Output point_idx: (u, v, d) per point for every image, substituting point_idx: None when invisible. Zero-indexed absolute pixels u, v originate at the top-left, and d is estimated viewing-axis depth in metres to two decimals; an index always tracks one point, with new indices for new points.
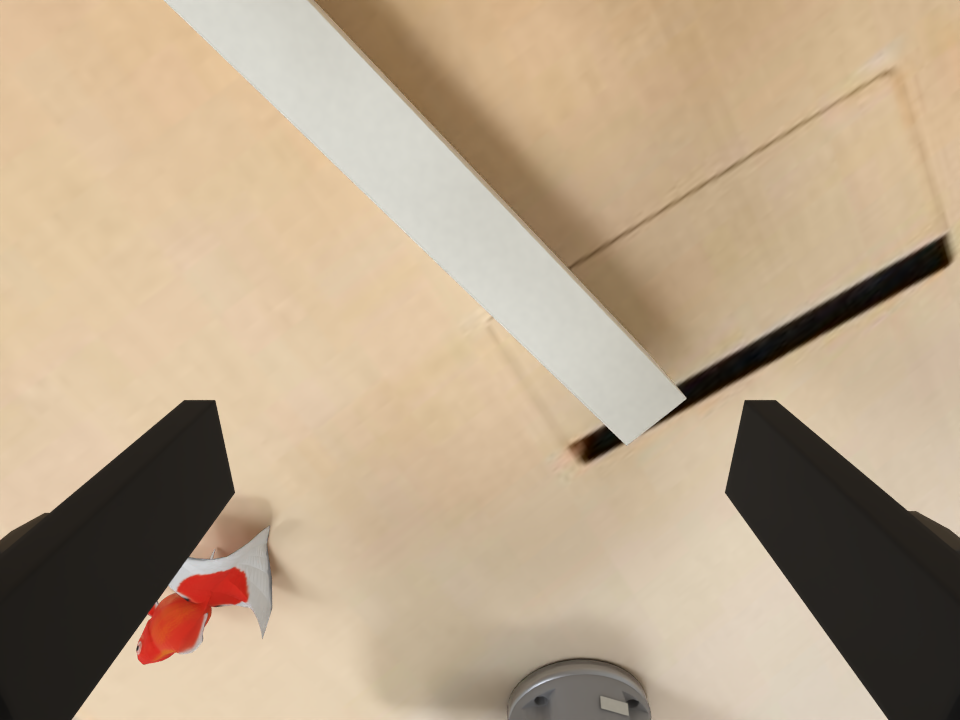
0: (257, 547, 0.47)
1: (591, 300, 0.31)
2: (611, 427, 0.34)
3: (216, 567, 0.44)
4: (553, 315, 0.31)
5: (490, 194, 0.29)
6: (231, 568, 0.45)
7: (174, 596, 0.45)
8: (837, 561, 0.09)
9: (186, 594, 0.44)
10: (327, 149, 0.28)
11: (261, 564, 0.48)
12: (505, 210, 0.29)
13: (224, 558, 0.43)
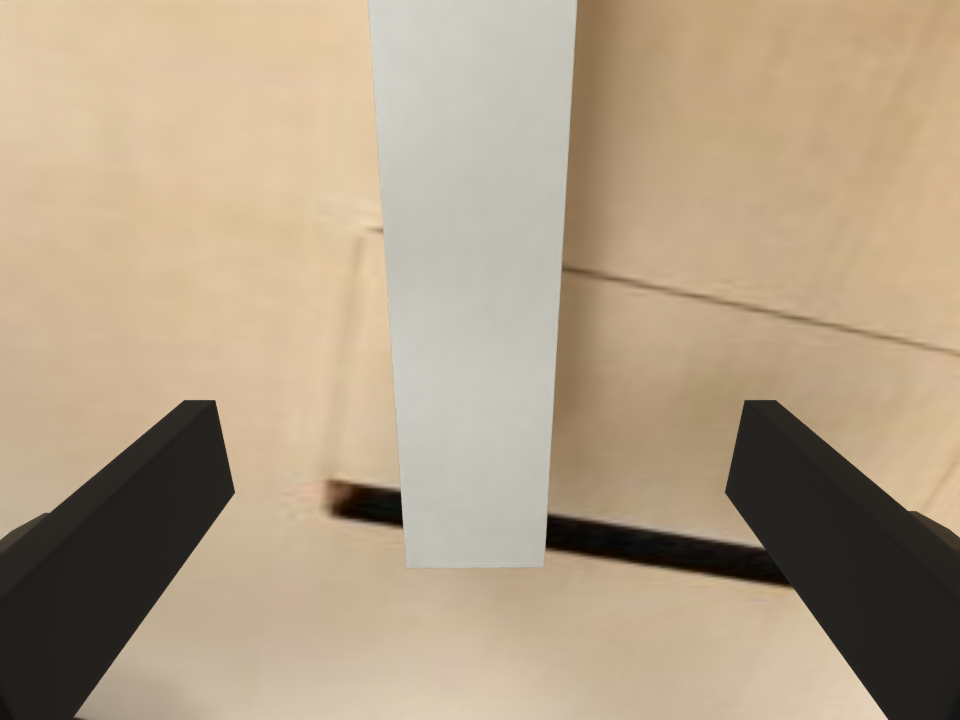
0: None
1: (555, 319, 0.15)
2: (407, 527, 0.18)
3: None
4: (481, 289, 0.15)
5: None
6: None
7: None
8: (837, 561, 0.09)
9: None
10: None
11: None
12: (572, 26, 0.12)
13: None
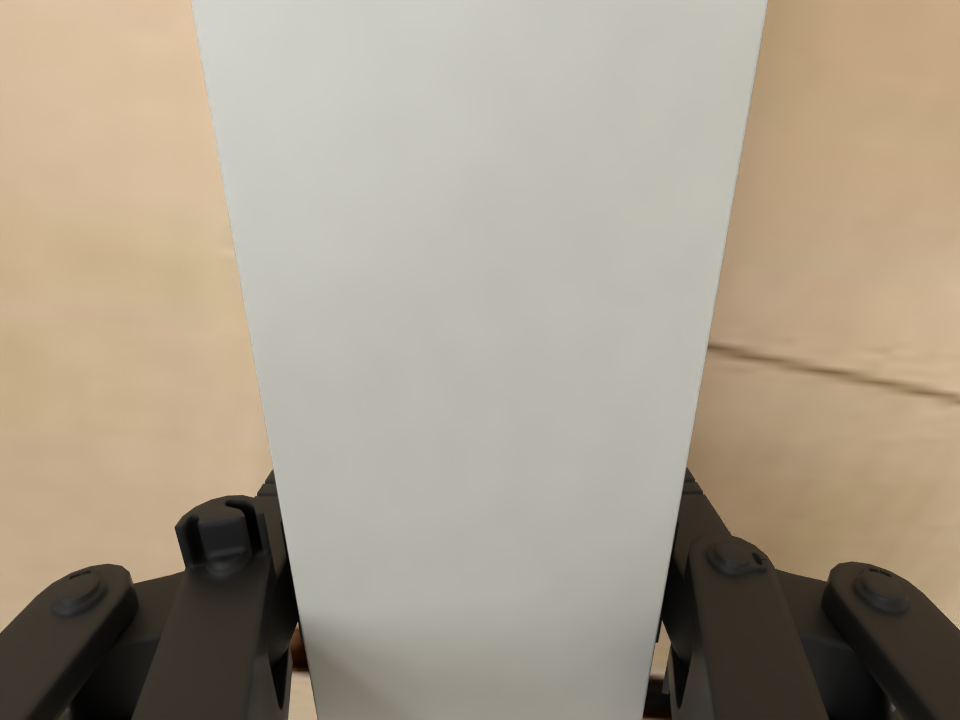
0: None
1: (670, 529, 0.07)
2: None
3: None
4: (496, 467, 0.06)
5: None
6: None
7: None
8: None
9: None
10: None
11: None
12: None
13: None
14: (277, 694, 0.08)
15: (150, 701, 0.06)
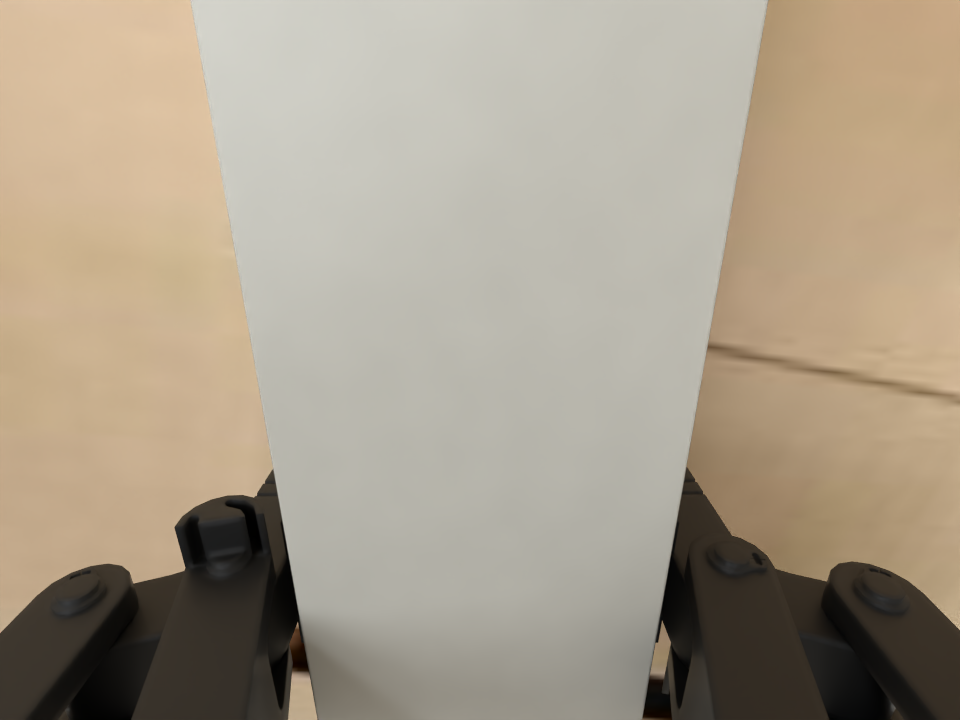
0: None
1: (670, 529, 0.07)
2: None
3: None
4: (495, 467, 0.06)
5: None
6: None
7: None
8: None
9: None
10: None
11: None
12: None
13: None
14: (277, 694, 0.08)
15: (150, 701, 0.06)
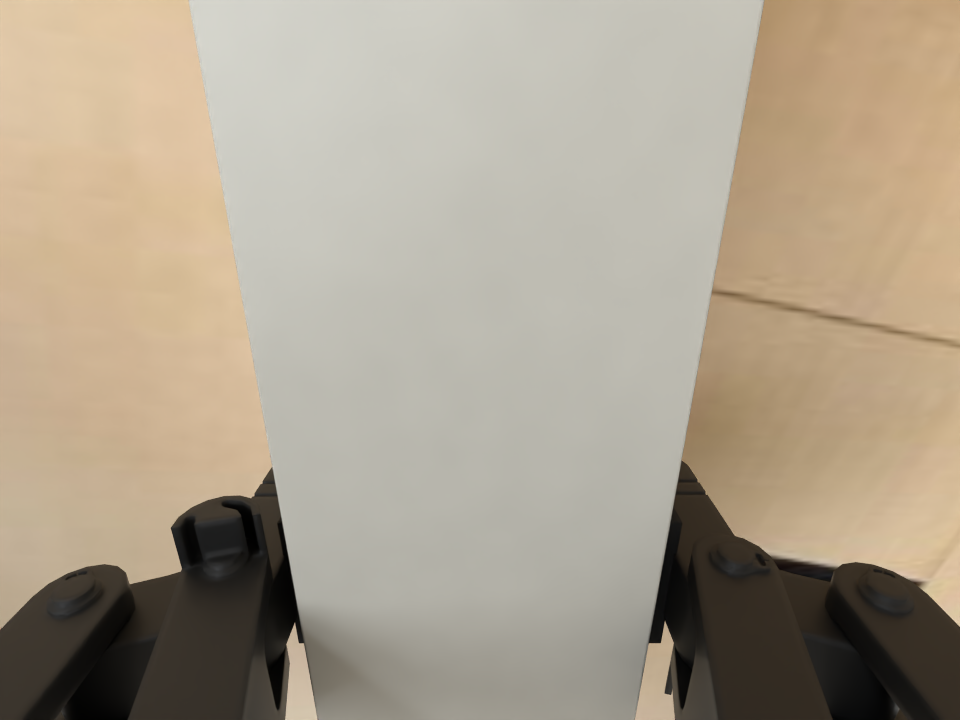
0: None
1: (663, 530, 0.07)
2: None
3: None
4: (491, 468, 0.06)
5: None
6: None
7: None
8: None
9: None
10: None
11: None
12: None
13: None
14: (274, 694, 0.08)
15: (146, 702, 0.06)
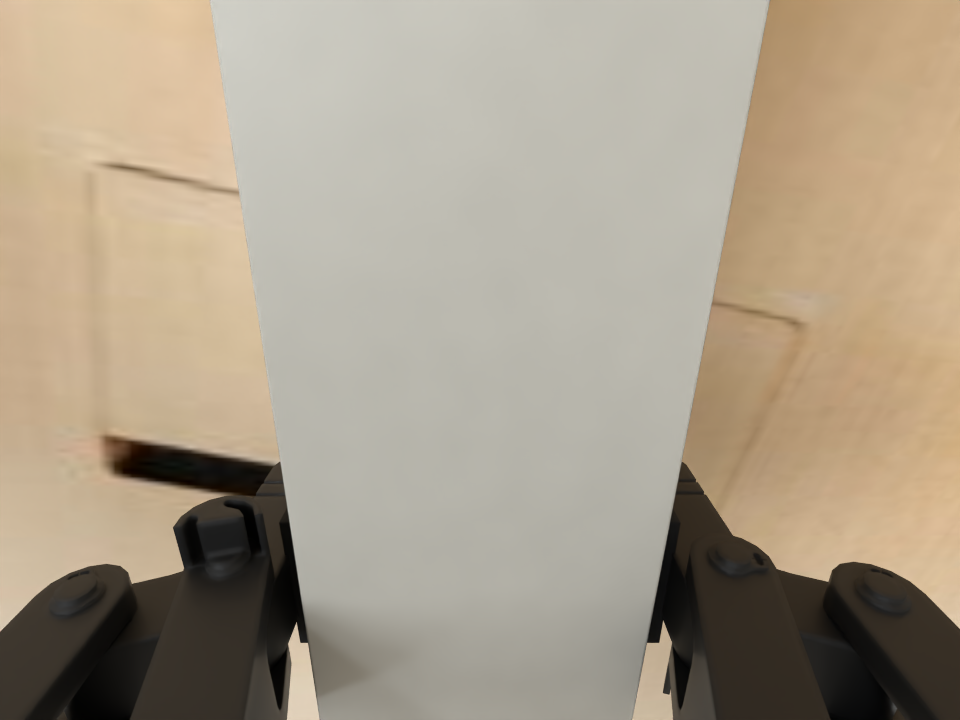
0: None
1: (664, 524, 0.07)
2: None
3: None
4: (496, 461, 0.06)
5: None
6: None
7: None
8: None
9: None
10: None
11: None
12: None
13: None
14: (276, 694, 0.08)
15: (148, 701, 0.06)
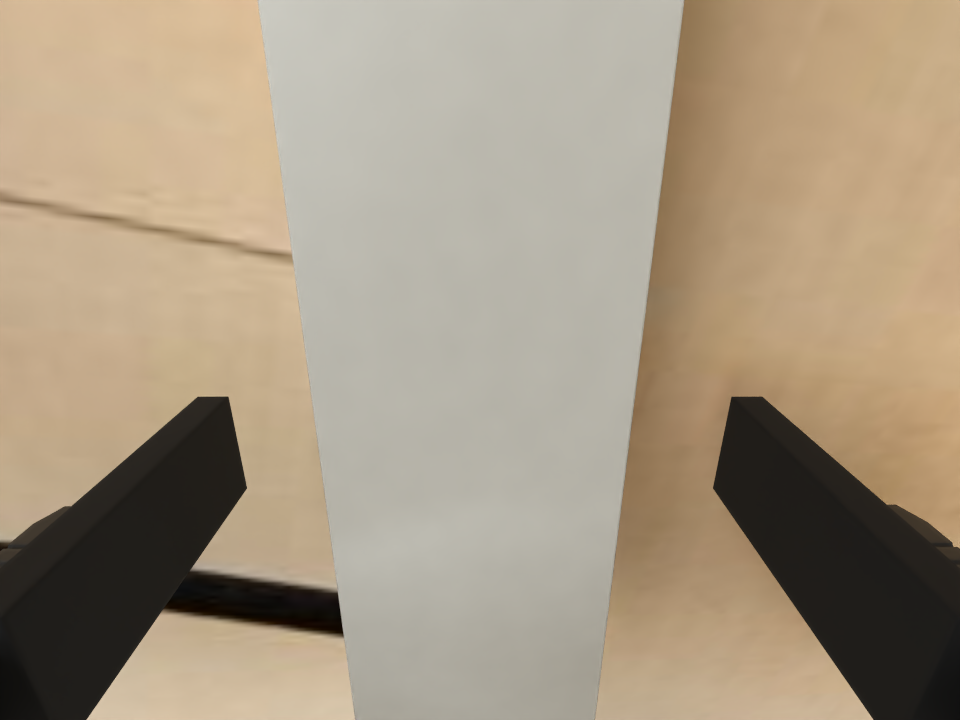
0: None
1: (628, 416, 0.08)
2: None
3: None
4: (486, 361, 0.08)
5: None
6: None
7: None
8: (818, 553, 0.09)
9: None
10: None
11: None
12: None
13: None
14: None
15: None
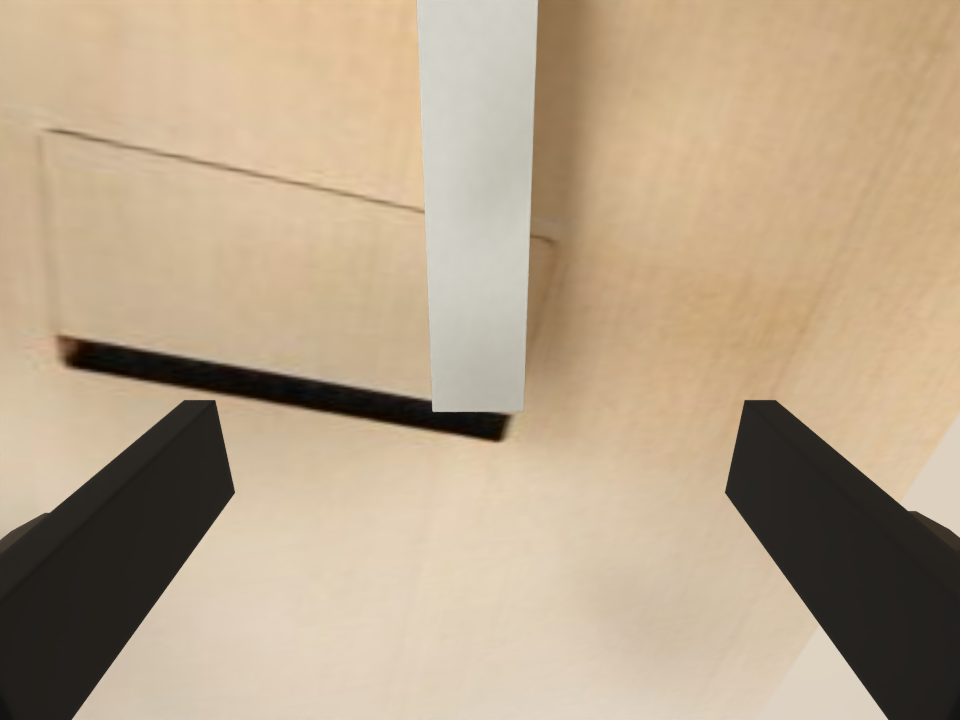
0: None
1: (528, 238, 0.25)
2: (434, 381, 0.28)
3: None
4: (482, 218, 0.24)
5: (535, 28, 0.22)
6: None
7: None
8: (837, 561, 0.09)
9: None
10: None
11: None
12: (533, 61, 0.22)
13: None
14: None
15: None
